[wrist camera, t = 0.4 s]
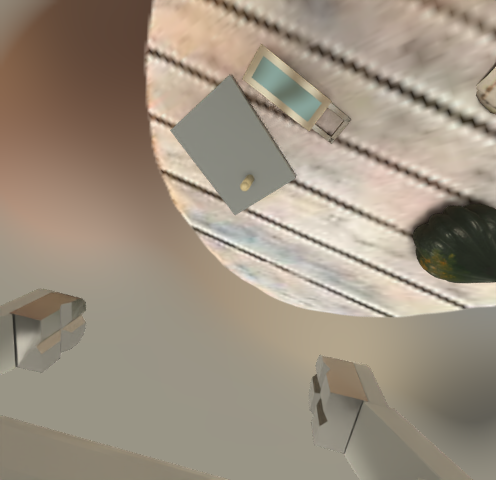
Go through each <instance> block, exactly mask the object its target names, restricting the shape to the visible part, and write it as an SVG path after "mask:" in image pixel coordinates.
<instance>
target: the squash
mask: <svg viewBox="0 0 496 480" xmlns="http://www.w3.org/2000/svg"><path fill="white" fill-rule="evenodd" d="M413 240H414V243H415V245H416V255H417V259H418V261H419V263H420V265H421V266H422V268H423V269H424V270H426V271H427V272H428V273H430V274H431V275H432V276H434V277H436V278H439V279H443V280H447V281H449V282H454V283H490V282H496V209H494V208H492V207H489V206H487V205H482V204H472V205H467V206H464V207H462V206H448V207H446V208H445V209H444V211H443V214H435V215H432V216H431V217H430V218H429V224H424V225H421V226H419V227H418V228H417V229H416V230H415V231H414V233H413Z"/></svg>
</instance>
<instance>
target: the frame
mask: <svg viewBox="0 0 496 480" xmlns="http://www.w3.org/2000/svg"><path fill="white" fill-rule="evenodd" d="M242 79H243V80H244V81H245V82H247V83H248V84H249V85H250V86H252V87H253V88H254V89H256V90H257V91H258V92H259V93H261V94H262V95H263V96H264V97H266V98H267V99H268V100H270V101H271V102H272V103H273V104H275V105H276V106H277V107H278V108H280V109H281V110H282V111H284V112H285V113H286V114H287V115H289V116H290V117H291V118H292V119H294V120H295V121H296V122H297V123H299V124H300V125H301V126H303V127H304V128H305V129H306V130H308V131H310V130H311V129H313V130H315V131H316V132H317V133H318V134H320V135H321V136H322V137H323V138H325V139H326V140H327V141H329V142H330V143H331V144H332V143H333V141H334V140H335V139H336V138H337V137H338V135H339V134H340V133H341V132H342V131H343V129H344V128H345V127H346V126H347V125H348V123H349V122H350V121H351V119H350V118H349V117H348V116H347V115H345V114H344V113H343V112H342V111H340V110H339V109H338V108H337V107H336V106H334V105H333V104H332V103H331V102H332V101H331V100H330V99H328V98H327V97H326V96H325V95H323V94H322V93H321V92H320V91H319V90H317V89H316V88H315V87H314V86H312V85H311V84H310V83H309V82H308V81H306V80H305V79H304V78H303V77H301V76H300V75H299V74H298V73H297V72H295V71H294V70H293V69H292V68H291V67H289V66H288V65H287V64H286V63H284V62H283V61H282V60H281V59H280V58H278V57H277V56H276V55H275V54H273V53H272V52H271V51H270V50H269V49H267V48H266V47H265V46H263V45H262V44H261V45H260V47H259V49H258V51H257V53H256V54H255V56H254V58H253V60H252V62H251V64H250V66H249V67H248V69H247V71H246V73H245V75H244V77H243V78H242ZM327 108H329V109H331V110H332V111H333V112H334V113H336V114H337V115H338V116H339V117H341V118H342V119H343V120H344V121H343V122H342V124H341V125H340V126H339V127H338V129H337V130H336V131H335V132H334V133H333V135H332V136H330V135H328V134H327V133H326V132H325V131H323V130H322V129H321V128H319V127H318V126H317V125H316V124H315V123H316V122H317V121H318V120H319V118H320V117H321V116H322V114H323V113H324V112H325V110H326V109H327Z"/></svg>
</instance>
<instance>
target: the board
mask: <svg viewBox="0 0 496 480" xmlns="http://www.w3.org/2000/svg"><path fill="white" fill-rule="evenodd" d="M170 131H171V132H172V133H173V135H174V136H175V137H176V139H177V140H178V141H179V142H180V144H181V145H182V146H183V148H184V149H185V150H186V152H187V153H188V154H189V156H190V157H191V158H192V159H193V161H194V162H195V163H196V165H197V166H198V167H199V169H200V170H201V171H202V173H203V174H204V175H205V177H206V178H207V179H208V180H209V182H210V183H211V184H212V186H213V187H214V188H215V190H216V191H217V192H218V194H219V195H220V196H221V197H222V199H223V200H224V201H225V203H226V204H227V205H228V207H229V208H230V209H231V211H232V212H233V213H234V214H235V215H236V214H238V213H240V212H241V211H243V210H244V209H246V208H248V207H249V206H251V205H253V204H254V203H256V202H258V201H259V200H261V199H262V198H264V197H266V196H267V195H269V194H271V193H272V192H274V191H275V190H277V189H279V188H280V187H282V186H284V185H285V184H287V183H289V182H290V181H292V180H293V179H295V178H296V175H295V173H294V172H293V170H292V168H291V167H290V165H289V164H288V162H287V161H286V159H285V157H284V156H283V154H282V153H281V151H280V150H279V148H278V146H277V145H276V143H275V142H274V140H273V139H272V137H271V135H270V134H269V132H268V131H267V129H266V128H265V126H264V124H263V123H262V121H261V120H260V118H259V117H258V115H257V113H256V112H255V110H254V109H253V107H252V106H251V104H250V102H249V101H248V99H247V98H246V96H245V94H244V93H243V91H242V90H241V88H240V87H239V85H238V83H237V82H236V80H235V79H234V77H233V76H232V75H229V76H228V77H227V78H226V79H225V80H224V81H223V82H222V83H221V84H219V85H218V86H217V87H216V88H215V89H214V90H213V91H212V92H211V93H210V94H209V95H208V96H207V97H206V98H205V99H203V100H202V101H201V102H200V103H199V104H198V105H197V106H196V107H195V108H194V109H193V110H192V111H191V112H190V113H189V114H187V115H186V116H185V117H184V118H183V119H182V120H181V121H180V122H179V123H178V124H177V125H176V126H175V127H174V128H172V129H171V130H170Z"/></svg>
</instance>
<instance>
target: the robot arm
mask: <svg viewBox="0 0 496 480" xmlns="http://www.w3.org/2000/svg"><path fill="white" fill-rule="evenodd" d="M85 311H86V302H85V301H84V300H83V299H82V298H79V297H74V296H71V295H67V294H63V293H59V292H55V291H51V290H47V289H37V290H34V291H32V292H30V293H28V294H26V295H23V296H22V297H19V298H17V299H15V300H12V301H10V302H8V303H6V304H3V305H1V306H0V375H1V374H3V373H6V372H8V371H10V370H13V369H15V367H19V368H23V369H27V370H32V371H36V372H40V373H42V372H44V371H45V370H46V369H47V368H49V367H50V366H51V365H52V364H53V363H55V362H56V361H57V360H58V359H60V356H61V353H62V352H64V351H67V350H70V349H72V348H73V347H74V346H76V345H77V344H78V343H79V341H80V340H81V338H82V336H83V335H84V331H85V324H86V322H85V320H84V318H83V317H82V314H83V313H84V312H85ZM316 370H317V374H316V375H315V376H313V377H312V381H311V384H310V390H309V408H310V411H311V412H312V413H313V419H312V422H311V425H312V433H313V442H314V445H316V446H320V447H323V448H326V449H330V450H333V451H337V452H340V453H343V454H344V456H345V457H346V459H347V461H348V462H349V464H350V466H351V467H352V469H353V470H354V472H355V473H356V475H357V477H358V478H359V480H473V479H472V478H470V477H469V476H468V475H467V474H466V473H465V472H464V471H463V470H461V469H460V468H459V467H458V466H457V465H456V464H455V463H454V462H453V461H452V460H451V459H449V458H448V457H447V456H446V455H445V454H444V453H443V452H442V451H441V450H439V449H438V448H437V447H436V446H435V445H434V444H433V443H432V442H431V441H430V440H428V439H427V438H426V437H425V436H424V435H423V434H422V433H421V432H420V431H418V430H417V429H416V428H415V427H414V426H413V425H412V424H411V423H410V422H408V421H407V420H406V419H405V418H404V417H403V416H402V415H401V414H400V413H399V412H397V411H396V410H395V409H394V408H390V407H389V406H388V404H387V402H386V400H385V398H384V396H383V394H382V392H381V389H380V387H379V385H378V383H377V381H376V379H375V377H374V375H373V372H372V370H371V368H370V367H369V366H368V365H365V364H361V363H356V362H349V361H345V360H340V359H335V358H331V357H326V356H322V355H319V357H318V359H317V363H316ZM0 480H229V479H226V478H222V477H218V476H215V475H211V474H208V473H204V472H201V471H197V470H194V469H190V468H186V467H183V466H180V465H176V464H173V463H169V462H165V461H162V460H159V459H155V458H151V457H148V456H144V455H141V454H137V453H133V452H130V451H127V450H123V449H120V448H116V447H112V446H109V445H105V444H101V443H98V442H95V441H91V440H88V439H84V438H81V437H77V436H73V435H70V434H66V433H63V432H59V431H56V430H52V429H49V428H45V427H42V426H37V425H34V424H31V423H27V422H23V421H20V420H17V419H13V418H9V417H6V416H3V415H0Z"/></svg>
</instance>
